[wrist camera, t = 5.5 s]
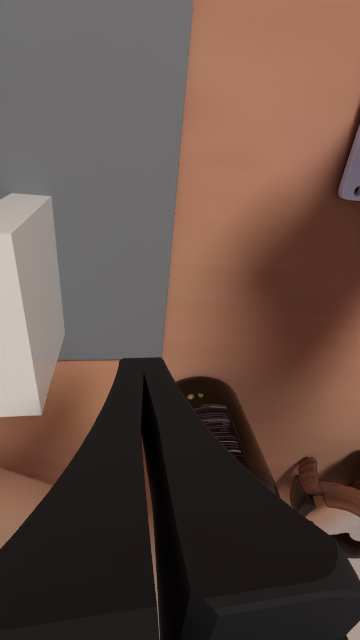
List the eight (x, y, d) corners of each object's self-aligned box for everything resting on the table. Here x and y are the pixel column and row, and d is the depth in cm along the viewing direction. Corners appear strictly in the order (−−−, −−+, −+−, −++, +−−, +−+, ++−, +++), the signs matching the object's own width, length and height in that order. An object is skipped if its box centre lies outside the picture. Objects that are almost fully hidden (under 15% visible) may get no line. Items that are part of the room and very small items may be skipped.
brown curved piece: (334, 498, 37) (336, 575, 30) (274, 444, 37) (263, 509, 30) (440, 462, 30) (473, 552, 23) (367, 396, 30) (379, 466, 23)
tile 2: (51, 196, 15) (11, 233, 10) (64, 334, 19) (41, 415, 14) (7, 192, 15) (-60, 230, 10) (30, 333, 19) (-7, 417, 14)
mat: (226, -398, 9) (230, -418, 8) (161, 355, 22) (161, 358, 22) (-516, -716, 6) (-554, -766, 6) (-86, 357, 19) (-90, 362, 19)
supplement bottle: (242, 421, 27) (314, 601, 17) (164, 444, 27) (188, 637, 17) (229, 361, 23) (312, 543, 13) (139, 387, 23) (151, 590, 13)
